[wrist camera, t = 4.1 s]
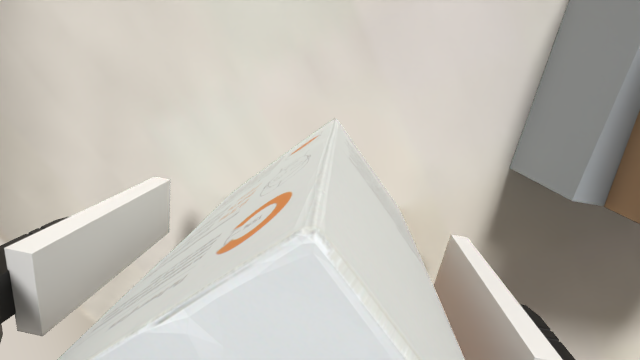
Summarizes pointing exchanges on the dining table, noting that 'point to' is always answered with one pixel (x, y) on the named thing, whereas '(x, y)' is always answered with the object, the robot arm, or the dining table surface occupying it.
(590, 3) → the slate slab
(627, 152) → the brown wooden block
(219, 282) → the small box
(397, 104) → the dining table surface
